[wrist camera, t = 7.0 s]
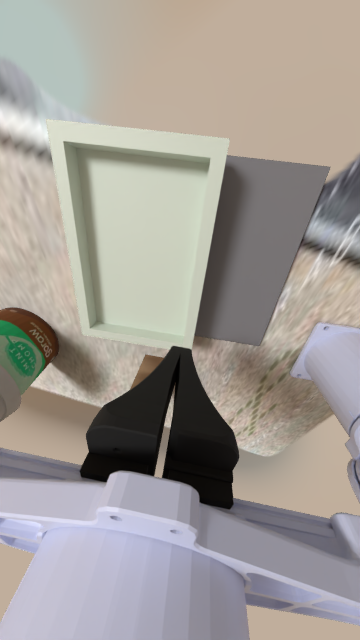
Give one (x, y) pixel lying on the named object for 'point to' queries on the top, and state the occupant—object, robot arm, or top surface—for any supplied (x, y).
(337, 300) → the top surface
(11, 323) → the food container
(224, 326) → the mat
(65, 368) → the top surface
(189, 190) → the pale green tray
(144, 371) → the walnut block
